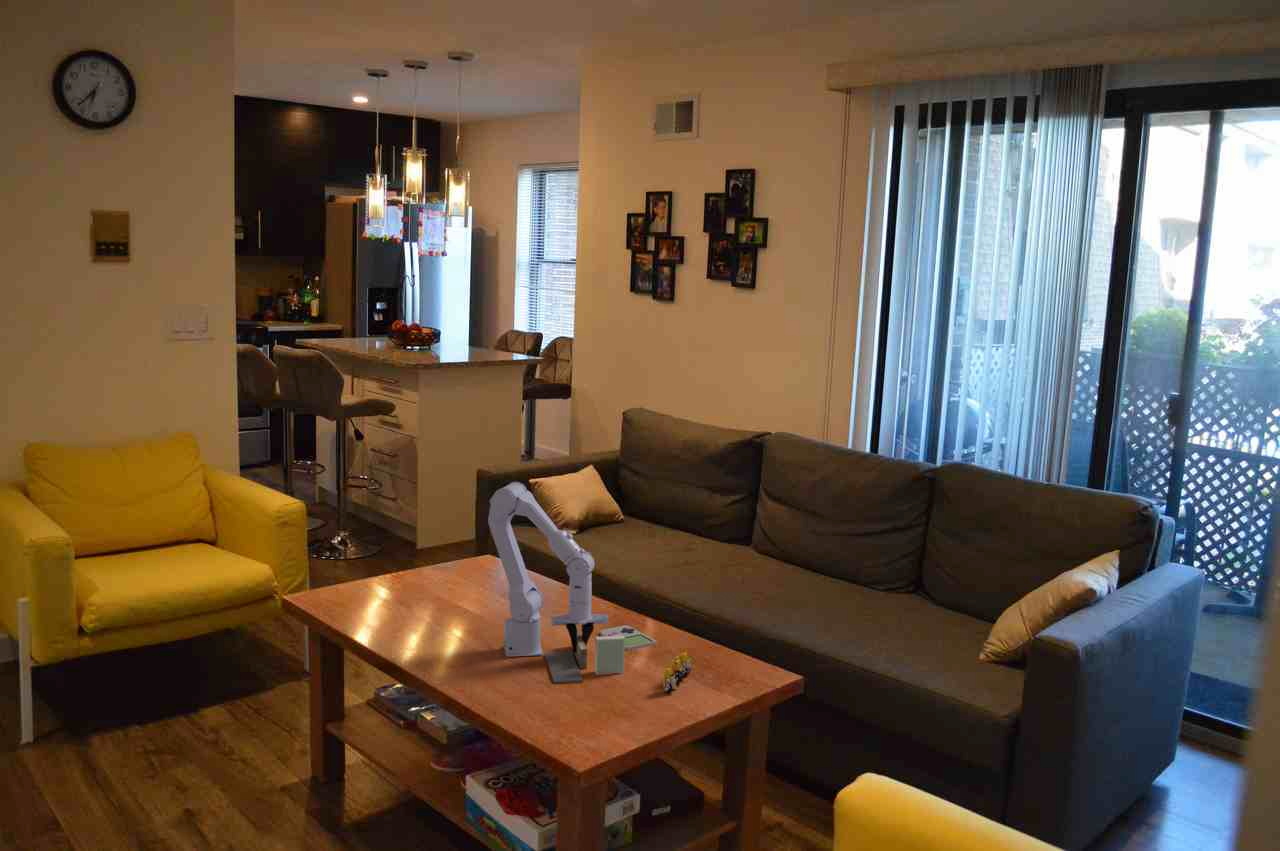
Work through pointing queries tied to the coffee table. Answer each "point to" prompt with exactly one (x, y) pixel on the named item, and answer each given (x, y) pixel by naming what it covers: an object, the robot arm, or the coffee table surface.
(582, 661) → the beige bar
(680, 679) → the figurine set
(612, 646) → the tile
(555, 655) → the rubber mat
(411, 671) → the coffee table surface
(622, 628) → the handheld gaming console
